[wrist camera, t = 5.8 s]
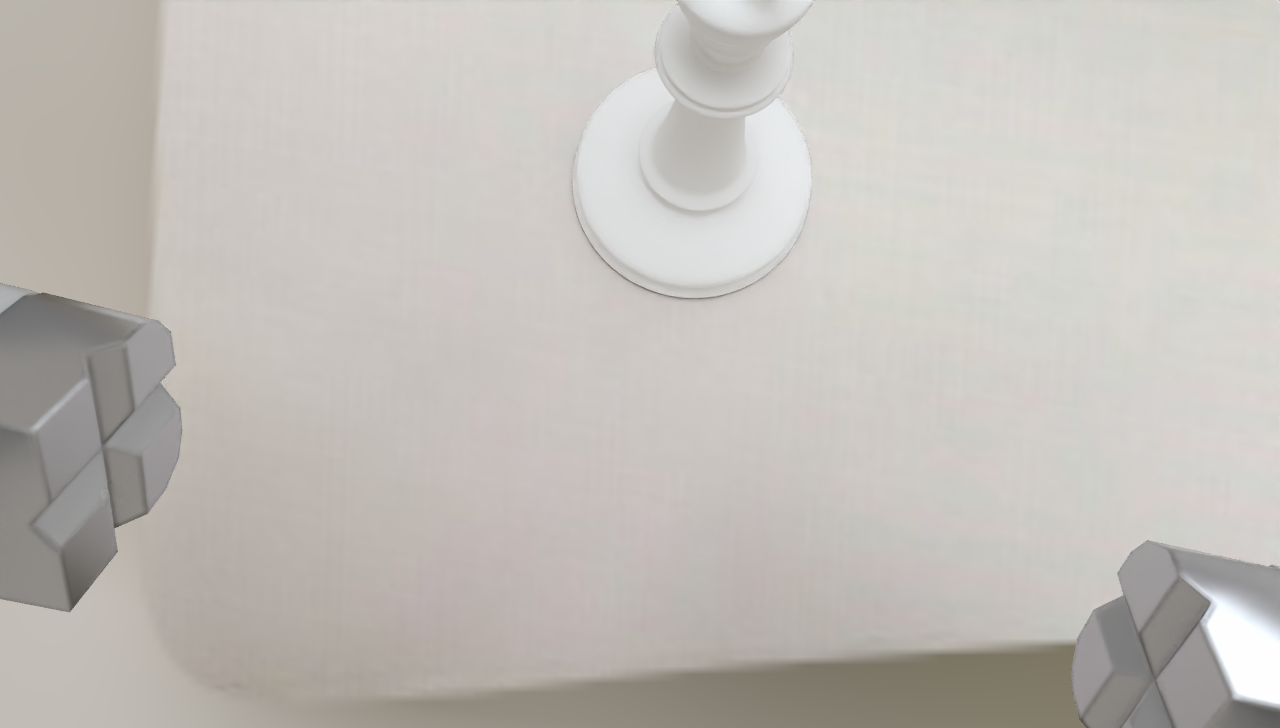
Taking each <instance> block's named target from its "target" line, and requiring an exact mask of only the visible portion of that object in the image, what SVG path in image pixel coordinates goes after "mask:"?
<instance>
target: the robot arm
mask: <svg viewBox="0 0 1280 728" xmlns="http://www.w3.org/2000/svg"><path fill="white" fill-rule="evenodd" d="M175 365H176V363H175V356H174V350H173V343H172V336H171V331H169V330H168V329H167V328H166V327H165V326H164V325H163V324H162V323H160V322H159V321H157V320H153V319H149V318H145V317H141V316H137V315H133V314H129V313H125V312H121V311H116V310H112V309H108V308H104V307H100V306H96V305H92V304H88V303H84V302H79V301H75V300H71V299H67V298H63V297H59V296H55V295H50V294H47V293H37V292H35V291H32V290H28V289H23V288H19V287H15V286H11V285H6V284H2V283H0V599H4V600H9V601H14V602H19V603H24V604H30V605H35V606H40V607H45V608H50V609H56V610H61V611H66V612H70V611H71V610H72V609H73V608H74V606H75V605H76V604H77V602H78V601H79V600H80V599H81V597H82V596H83V595H84V594H85V592H86V591H87V590H88V589H89V587H90V586H91V585H92V584H93V582H94V581H95V580H96V578H97V577H98V576H99V575H100V573H101V572H102V571H103V570H104V568H105V567H106V566H107V565H108V563H109V562H110V561H111V560H112V558H113V557H114V556H115V554H116V553H117V552H118V550H117V544H116V537H115V530H114V528H116V527H119V526H121V525H123V524H125V523H128V522H130V521H132V520H134V519H137V518H139V517H141V516H143V515H146V514H148V512H149V511H150V510H151V508H152V507H153V506H154V504H155V503H156V502H157V500H158V499H159V498H160V496H161V495H162V494H163V492H164V491H165V489H166V487H167V485H168V482H169V480H170V477H171V475H172V472H173V470H174V468H175V465H176V463H177V460H178V458H179V450H180V443H181V435H182V425H181V413H180V407H179V406H178V405H177V403H176V402H175V401H174V400H173V398H172V397H171V396H170V395H169V393H168V392H167V391H166V389H165V388H164V387H163V386H162V384H161V383H160V382H161V381H162V380H163V379H164V378H165V376H166V375H167V374H168V373H169V372H170V371H171V370H172V369H173V368H174V366H175ZM1117 574H1118V578H1119V581H1120V585H1121V588H1122V591H1123V595H1124V596H1121V597H1119V598H1117V599H1115V600H1113V601H1111V602H1109V603H1107V604H1105V605H1103V606H1101V607H1099V608H1097V609H1095V610H1093V612H1092V614H1091V616H1090V617H1089V619H1088V621H1087V622H1086V624H1085V626H1084V628H1083V629H1082V631H1081V633H1080V635H1079V636H1078V639H1077V644H1076V649H1075V654H1074V659H1073V664H1072V668H1071V669H1072V688H1073V696H1074V700H1075V704H1076V708H1077V712H1078V716H1079V719H1080V721H1081V722H1082V723H1083V724H1084V725H1085V726H1086V728H1280V567H1279V566H1274V565H1271V566H1264V565H1260V564H1255V563H1250V562H1246V561H1241V560H1237V559H1232V558H1227V557H1223V556H1218V555H1213V554H1209V553H1204V552H1200V551H1195V550H1190V549H1186V548H1181V547H1176V546H1172V545H1167V544H1163V543H1158V542H1153V541H1149V540H1147V541H1146V542H1144V543H1143V544H1142V545H1140V546H1139V547H1137V548H1136V549H1135V550H1133V551H1132V552H1131V553H1130V555H1129V556H1128V558H1127V559H1126V561H1125V562H1124V564H1123V565H1122V567H1121V568H1120V570H1119V571H1118V573H1117Z"/></svg>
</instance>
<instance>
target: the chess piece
mask: <svg viewBox="0 0 1280 728" xmlns="http://www.w3.org/2000/svg"><path fill="white" fill-rule="evenodd" d="M677 1H678V4H677V5H676V6H675V7H674V8H673V9H672V10H671V11H670V13H669V14H668V15H667V16H666V18H665V19H664V21H663V22H662V24H661V26H660V28H659V31H658V34H657V37H656V42H655V63H656V67H655V68H652V69H649V70H646V71H644V72H641V73H639V74H637V75H635V76H633V77H632V78H630V79H628V80H627V81H625V82H624V83H622V84H621V85H619V86H618V87H617V88H616V89H614V90H613V91H612V92H611V93H610V94H609V95H608V96H607V97H606V98H605V99H604V100H603V101H602V102H601V104H600V105H599V106H598V107H597V109H596V110H595V112H594V113H593V115H592V116H591V118H590V120H589V121H588V123H587V125H586V127H585V130H584V132H583V134H582V137H581V140H580V144H579V146H578V149H577V153H576V157H575V161H574V167H573V178H572V183H573V197H574V203H575V208H576V211H577V215H578V218H579V221H580V223H581V226H582V228H583V230H584V232H585V234H586V236H587V238H588V239H589V241H590V242H591V244H592V245H593V247H594V248H595V250H596V251H597V252H598V253H599V255H600V256H601V257H602V258H603V259H604V260H605V261H606V262H607V263H608V264H609V265H610V266H611V267H612V268H613V269H615V270H616V271H617V272H618V273H620V274H621V275H622V276H624V277H625V278H627V279H628V280H630V281H632V282H634V283H635V284H638V285H640V286H642V287H644V288H646V289H649V290H651V291H654V292H657V293H661V294H664V295H669V296H674V297H682V298H706V297H714V296H719V295H724V294H727V293H731V292H734V291H737V290H739V289H742V288H744V287H746V286H748V285H750V284H752V283H754V282H756V281H757V280H759V279H761V278H762V277H763V276H765V275H766V274H767V273H769V272H770V271H771V270H772V269H774V268H775V267H776V266H777V265H778V264H779V263H780V262H781V261H782V260H783V258H784V257H785V256H786V255H787V254H788V252H789V251H790V249H791V248H792V247H793V245H794V243H795V242H796V240H797V238H798V236H799V234H800V232H801V230H802V228H803V225H804V222H805V219H806V216H807V212H808V207H809V200H810V195H811V187H812V167H811V159H810V154H809V150H808V146H807V143H806V140H805V138H804V135H803V133H802V131H801V129H800V127H799V125H798V123H797V121H796V120H795V118H794V116H793V115H792V113H791V112H790V111H789V109H788V108H787V107H786V106H785V104H784V103H783V102H782V101H781V100H780V99H779V98H778V96H779V95H780V94H781V92H782V91H783V89H784V88H785V86H786V84H787V82H788V80H789V77H790V75H791V71H792V66H793V47H792V42H791V38H790V34H789V29H790V28H792V27H793V26H794V25H795V24H796V23H797V22H798V21H799V20H800V19H801V18H802V17H803V16H804V15H805V14H806V13H807V11H808V10H809V9H810V7H811V6H812V4H813V2H814V0H677Z"/></svg>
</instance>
